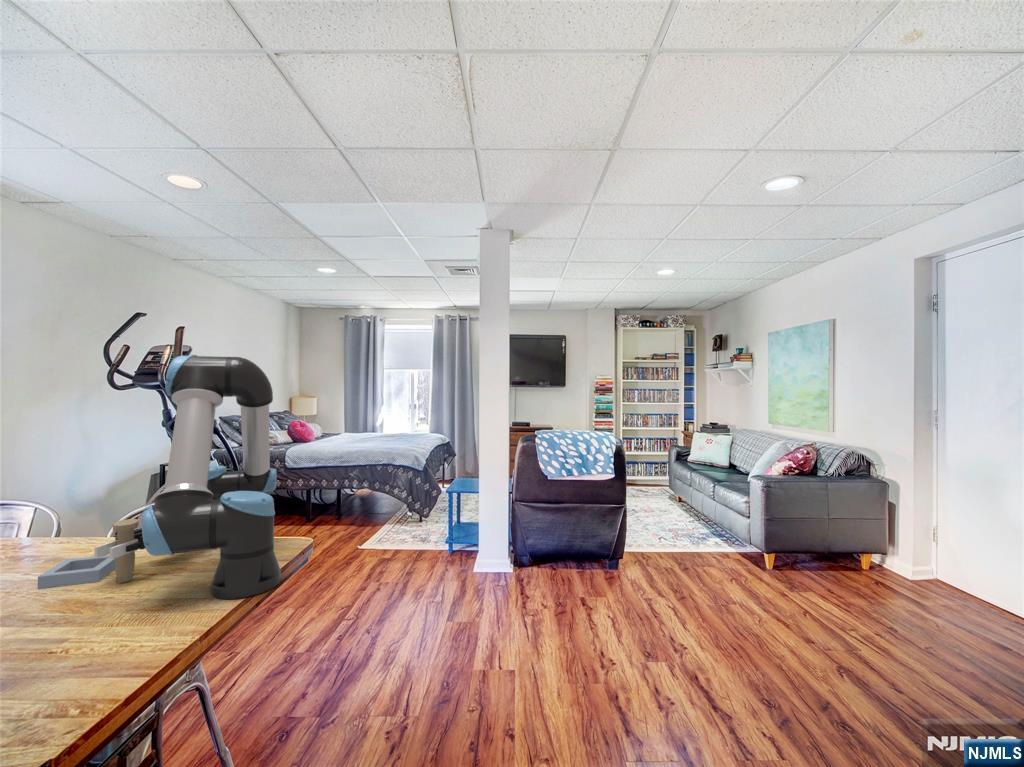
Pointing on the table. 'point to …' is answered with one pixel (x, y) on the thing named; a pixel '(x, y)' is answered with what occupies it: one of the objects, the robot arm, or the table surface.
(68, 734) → the table surface
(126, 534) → the handle
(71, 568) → the socket block
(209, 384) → the robot arm
